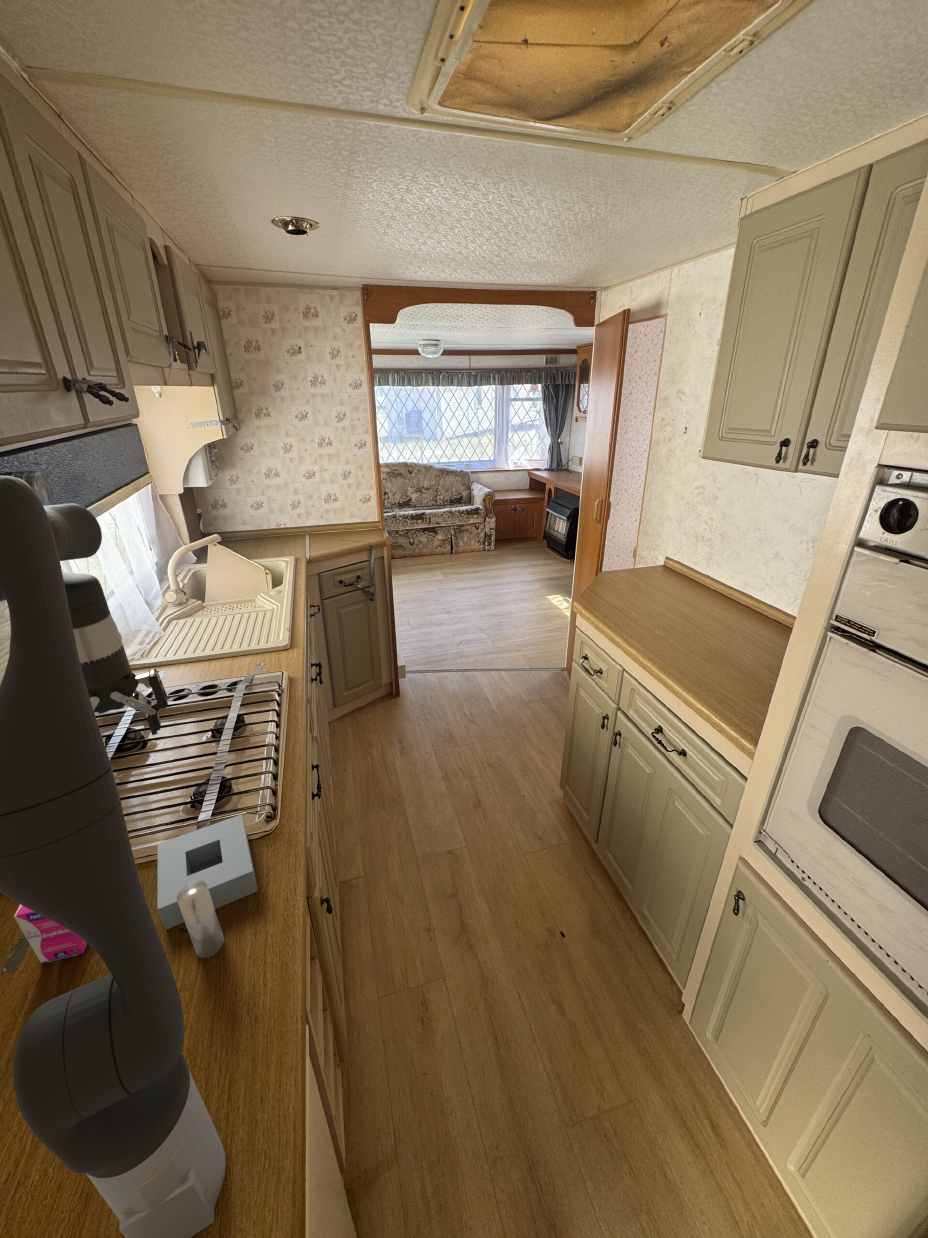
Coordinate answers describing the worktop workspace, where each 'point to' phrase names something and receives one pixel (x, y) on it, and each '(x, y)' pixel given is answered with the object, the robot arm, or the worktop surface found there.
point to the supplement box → (48, 936)
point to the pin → (200, 918)
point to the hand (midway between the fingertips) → (123, 740)
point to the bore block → (205, 866)
